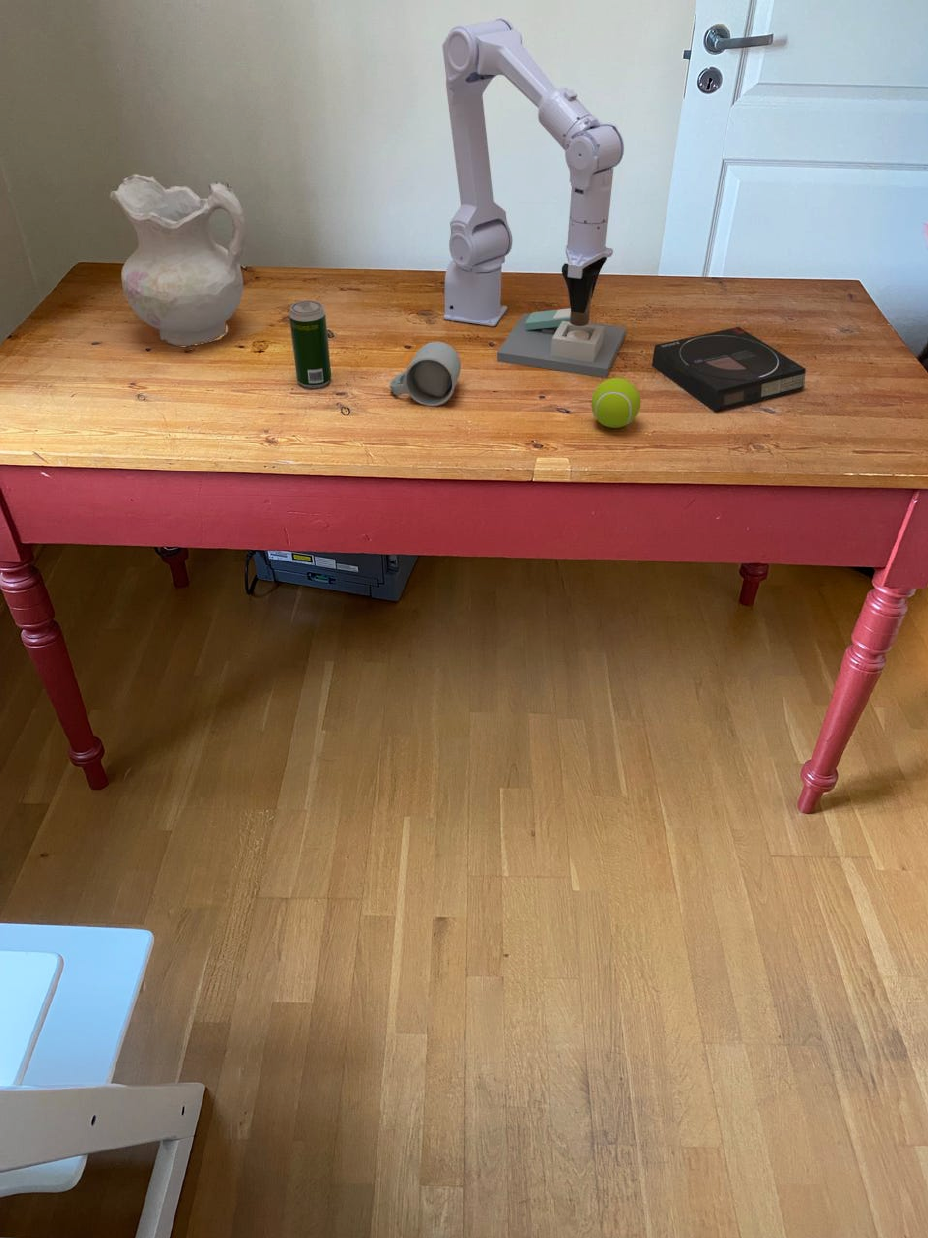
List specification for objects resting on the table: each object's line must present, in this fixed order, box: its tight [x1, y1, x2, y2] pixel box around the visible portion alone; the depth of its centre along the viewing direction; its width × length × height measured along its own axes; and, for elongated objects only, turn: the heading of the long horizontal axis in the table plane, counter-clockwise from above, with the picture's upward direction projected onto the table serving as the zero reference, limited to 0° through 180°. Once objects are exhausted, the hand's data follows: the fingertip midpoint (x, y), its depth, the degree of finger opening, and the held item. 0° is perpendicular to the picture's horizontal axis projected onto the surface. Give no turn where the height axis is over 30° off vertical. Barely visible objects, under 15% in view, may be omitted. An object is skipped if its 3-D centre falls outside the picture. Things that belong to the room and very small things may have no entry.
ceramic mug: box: [389, 341, 462, 407], centre depth 141 cm, size 11×8×8 cm
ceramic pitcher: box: [109, 173, 247, 347], centre depth 152 cm, size 22×20×25 cm
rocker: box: [525, 307, 571, 330], centre depth 157 cm, size 8×4×1 cm, turn 72°
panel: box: [496, 312, 627, 379], centre depth 154 cm, size 18×16×4 cm
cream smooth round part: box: [567, 330, 589, 340], centre depth 151 cm, size 4×4×2 cm
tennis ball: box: [590, 377, 642, 429], centre depth 135 cm, size 7×7×7 cm
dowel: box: [570, 289, 592, 326], centre depth 146 cm, size 3×3×7 cm
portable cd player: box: [651, 326, 807, 413], centre depth 147 cm, size 16×17×4 cm
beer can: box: [288, 300, 332, 390], centre depth 142 cm, size 5×5×12 cm
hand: (580, 306), depth 147 cm, fingers closed on dowel, 3 cm apart
